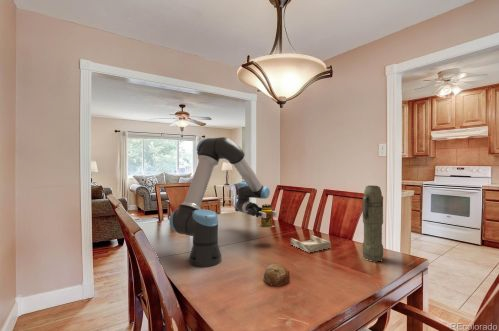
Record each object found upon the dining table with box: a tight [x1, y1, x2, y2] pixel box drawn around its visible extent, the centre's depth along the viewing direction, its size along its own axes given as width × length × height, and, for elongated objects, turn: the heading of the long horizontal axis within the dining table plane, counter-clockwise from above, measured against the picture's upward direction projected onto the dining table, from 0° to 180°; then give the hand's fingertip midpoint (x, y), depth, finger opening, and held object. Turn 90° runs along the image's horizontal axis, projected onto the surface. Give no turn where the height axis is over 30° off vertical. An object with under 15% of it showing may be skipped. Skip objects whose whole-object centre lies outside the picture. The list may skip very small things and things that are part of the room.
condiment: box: [256, 203, 275, 229], centre depth 144 cm, size 7×8×12 cm
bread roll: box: [263, 263, 291, 286], centre depth 102 cm, size 10×10×8 cm
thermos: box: [361, 185, 384, 261], centre depth 124 cm, size 9×12×35 cm
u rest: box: [290, 234, 331, 254], centre depth 142 cm, size 15×15×4 cm
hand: (270, 215), depth 140 cm, fingers closed on condiment, 6 cm apart
